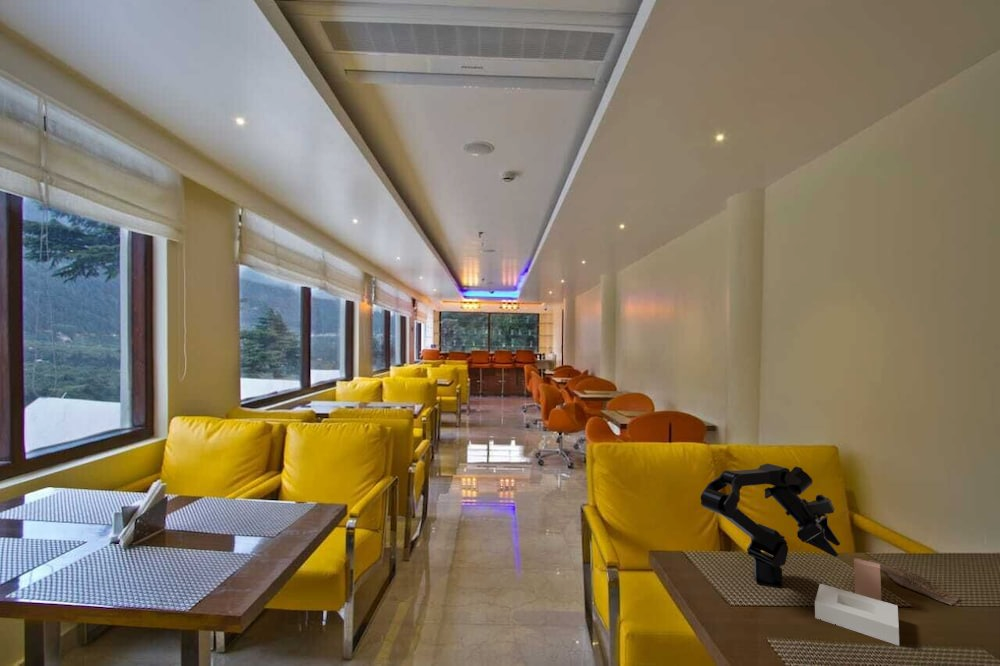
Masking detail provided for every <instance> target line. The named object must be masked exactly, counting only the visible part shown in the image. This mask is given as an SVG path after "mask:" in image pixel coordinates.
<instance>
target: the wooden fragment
mask: <svg viewBox="0 0 1000 666" xmlns="http://www.w3.org/2000/svg"><path fill="white" fill-rule="evenodd" d="M868 561H869V562H873V563H877V564H880V571H882V572H883V573H885V574H886V575H887V576H888V577H889V578H890V579H892V581H894V583H896V584H897V585H899V586H901V587H904V588H907V589H910V590H912V591H914V592H917V593H918V594H922V595H924V596H926V597H929V598H932V599H934V600H936V601H939V602H942V603H945V604H948V605H949V606H950V607H953V606H956V605H955V604H957V605H958V603H959V602H960V597H959V596H955V595H954V594H952V593H951V592H948V591H945V590H943V591H944V592H943V591H942V588H940V587H938V586H935V585H933V584H931V582H929V580H928V579H927V578H925V577H923V576H921V575H918V574H916V573H913V572H910V571H909V570H907V569H903V568H902V567H899V566H897V565H890V564H885V563H883V562H881V561H875V560H872V559H869V560H868ZM952 605H953V606H952Z"/></svg>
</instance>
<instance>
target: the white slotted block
mask: <svg viewBox="0 0 1000 666" xmlns="http://www.w3.org/2000/svg"><path fill="white" fill-rule="evenodd" d="M817 589H818V590H817V593H816V596H815V599H814V618H815V619H817V620H820V619H821V620H820V621H823V622H826V623H829V624H832V625H835V624H836V625H835V626H838V627H840V628H845V629H847V630H851V631H854V632H857V633H860V634H862V635H866V636H868V637H870V638H874V639H877V640H881V641H883V642H886V643H890V644H893V645H895V646H900V628H899V627H900V626H899V608H898V605H897V604H893V603H890V602H886V601H883V600H881V601H880V600H876V599H873V598H869V597H866V596H862V595H859V594H855V592H851V591H848V590H843V589H841V588H837V587H834V586H830V585H827V584H823V583H819V586H818V588H817Z"/></svg>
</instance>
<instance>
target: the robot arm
mask: <svg viewBox="0 0 1000 666" xmlns="http://www.w3.org/2000/svg"><path fill="white" fill-rule="evenodd" d="M759 485H761V486H762V485H770V486H772V487H766V488H764V499H769V498H771V497H772V498H773V499H774V500H775V501H776V502H777V503H778V504H779V505H780V506H781V507H782V509H784V511H785V514H786V516H788V517H789V516H790V517H791V518H792V519H793V520H794V521H795V522H796V523H797V524H796V526H797V527H798V529H797V532H796V533H797V534H796V535H797V538H798V539H799V540H800V541H801V542H802V543H805V544H809V545H810V546H813V547H815V548H817V549H818V550H820V551H823V552H825V553H827V554H829V555H830V556H831V557H834V558H836V557H839V553H838V552H837V551H836V549H835V548H834V547H833V545H834V546H836V547H838V546H840V545H841V543H840V541H839V539H838V538H837V537H836V535H835V533H834V532H833V530H832V529H831V527H830V526H829V523H828V521H829V519H828V517H829V516H828V515H829V514H834V512H835V509H836V508H835V507H834V504H833V503H832V500H831V499H830V498H829V497H826V496H824V495H823V494H820V493H819V494H817V495H816V496H815V499H814V500H812V501H808V500H807V499H805V498H801V497H800V495H802V494H803V493H804V492H805V491H806V490H807V489H808V488H809V487H810V486H811V485H813V478H812V477H811V475H809V474H808V473H807V472H805V471H804V469H803V468H802V467H800V466H794V467H793V468H792V469H791V470H790V468H788V467H783V466H780V465H775V464H772V463H768V462H767V463H765V464H761V465H759V467H758V468H754V469H753V468H752V469H741V470H728V469H727V470H724V471H722V473H721V474H720V475H719V476H718V477H717V478H716V479H713V480H712V481H710V482H709V483H707V485H706V487H705V488H704V490H703V491H702V493H701V494H700V500H701V501H700V504H701V506H702V507H703V508H704V509H707V510H709V511H711V512H712V513H713V512H714V513H715V514H718V515H720V516H722V517H724V518H725V519H726V520H728V521H729V523H731V524H733V525H734V526H735V527H737V529H740V530H741V531H742V532H743V533H744V534H745V535H747V536H749V537H750V543H749V545H748V546H747V547H746V551H747V554H748V556H751V557H753V572H752V575H753V579H754V580H755V582H756V584H757V585H763V586H768V587H776V588H783V585H782V584H783V568H782V566H784V565H786V562H787V559H788V558H787V557H788V552H789V546H788V542H787V541H786V539H785V538H786V537H785V536H784V535H781V533H780V532H778V530H776V529H773V528H771V527H768V526H765V525H764V524H762V523H757V522H755V521H754V520H753V519H752V518H750V517H749V516H748V515H746V513H744V512H743V511H741V510H740V509H739V508H738V503H739V502H740V500H741V498H740V497H741V495H740V493H741V489H742V487H751V486H759ZM727 486H731V491H730V493H729V494H727V493H723V492H721V490H723V489H724V488H726V487H727ZM832 544H833V545H832Z"/></svg>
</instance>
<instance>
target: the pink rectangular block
mask: <svg viewBox="0 0 1000 666" xmlns="http://www.w3.org/2000/svg"><path fill="white" fill-rule="evenodd" d="M853 573H854V574H853V575H854V579H853V580H854V593H855V594H859V595H862V596H866V597H869V598H873V599H876V600H880V601H882V583H881V582H882V579H881V578H882V577H881V569H880V564H877V563H873V562H871V561H869V560H864V559H861V558H858V557H857V558H856V557H854V559H853Z"/></svg>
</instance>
